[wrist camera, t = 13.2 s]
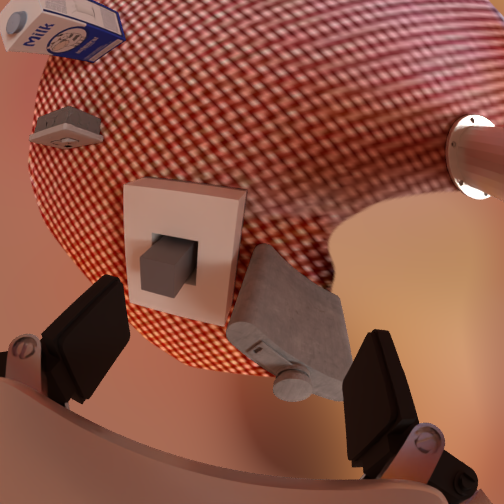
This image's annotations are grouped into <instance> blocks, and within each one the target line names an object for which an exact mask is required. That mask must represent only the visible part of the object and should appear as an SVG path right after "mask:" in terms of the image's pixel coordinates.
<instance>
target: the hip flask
mask: <svg viewBox="0 0 504 504" xmlns="http://www.w3.org/2000/svg"><path fill="white" fill-rule="evenodd" d="M226 336H227V339H228V340H229V341H230V343H232V344H233V345H234V346H235V347H236V348H237V349H238V350H240V351H241V352H242V353H243V354H245V355H246V356H247V357H248V358H250V359H251V360H252V361H254V362H255V363H257V364H258V365H260V366H261V367H263V368H264V369H266V370H267V371H269V372H270V373H272V374H274V375H275V376H276V380H275V381H274V386H273V393H274V395H276V396H277V397H278V398H279V399H281V400H284V401H291V402H293V401H295V402H296V401H301V400H304V399H306V398H308V397H309V396H310V395H311V394H312V393H313V394H315V395H318V396H321V397H324V398H327V399H331V400H334V401H343V392H342V383H343V380H344V378H345V376H346V374H347V372H348V370H349V368H350V367H351V365H352V363H353V361H352V355H351V350H350V345H349V340H348V334H347V330H346V325H345V320H344V315H343V311H342V306H341V301H340V298H339V297H338V296H337V295H335V294H333V293H331V292H329V291H327V290H325V289H323V288H321V287H320V286H318V285H316V284H315V283H313V282H312V281H310V280H309V279H308V278H306V277H305V276H304V275H302V274H301V273H300V272H298V271H297V270H296V269H295V268H293V267H292V266H291V265H290V264H289V263H288V262H287V261H285V260H284V259H283V258H282V257H281V256H280V255H279V254H278V252H277V251H276V250H275V249H274V248H273V247H272V246H271V245H269V244H259V245H258V246H256V247H255V249H254V251H253V254H252V257H251V260H250V263H249V266H248V269H247V271H246V274H245V277H244V280H243V283H242V286H241V289H240V292H239V295H238V298H237V301H236V303H235V306H234V309H233V312H232V315H231V318H230V321H229V324H228V327H227V330H226Z"/></svg>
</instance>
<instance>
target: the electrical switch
mask: <svg viewBox="0 0 504 504" xmlns="http://www.w3.org/2000/svg"><path fill="white" fill-rule="evenodd" d="M56 117H57V118H56ZM100 122H101V119H99V118H97V117H95V116H92V115H90V114H88V113H85V112H83V111H81V110H78V109H76V108H74V107H71V106H68V107H65V108H62V109H59V110H56V111H54V112H51V113H49V114H46V115H44V116H41V117H39V118H38V120H37V125H36V128H35V133H34V134H31V135H30V137H29V141H30V142H34V143H38V144H42V145H47V146H51V147H56V148H61V149H70V148H75V147H79V146H84V145H89V144H95V143H100V142H102V141H103V136H102V135H99V133H100ZM78 123H79V124H78Z"/></svg>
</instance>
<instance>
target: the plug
mask: <svg viewBox="0 0 504 504" xmlns="http://www.w3.org/2000/svg"><path fill="white" fill-rule="evenodd" d="M197 257H198V241H194V240H189V239H183V238H178V237H173V236H167V235H164V236H163V237H162V238H161V239H160V240H158V241H157V242H156V243H155V244H154V245H153V246H152V247H150V248H149V249H148V250H147V251H146V252H145V253H144V254H142V255H141V256H140V278H141V290H145V291H148V292H152V293H155V294H159V295H163V296H166V297H170V298H175V297H176V295H177V294H178V292H179V291H180V289H181V288H182V286H183V285H184V284H185V282H186V281H187V279H188V278H189V276H190V275H191V273H192V272H193V271H194V269H195V268H196V266H197Z"/></svg>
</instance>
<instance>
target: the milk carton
mask: <svg viewBox="0 0 504 504" xmlns="http://www.w3.org/2000/svg"><path fill="white" fill-rule="evenodd" d="M0 33H1V36H2V39H3V43H4V46H5V49H6V52H7V51H14V52H27V53H37V54H46V55H53V56H59V57H66V58H72V59H77V60H82V61H87V62H92V63H94V62H95V61H96V60H98V59H99V58H100V57H102V56H103V55H105V54H106V53H107V52H109V51H110V50H112V49H113V48H115V47H116V46H118V45H119V44H121V43H122V42H124V41H126V39H125V35H124V32H123V28H122V25H121V21H120V17H119V13H118V12H116V11H114V10H112V9H110V8H108V7H106V6H104V5H102V4H100V3H98V2H96V1H93V0H11V1H10V2H9V3H8V4H7V5H6V7H5V8H4V9H3V10H2V12H1V13H0Z"/></svg>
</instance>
